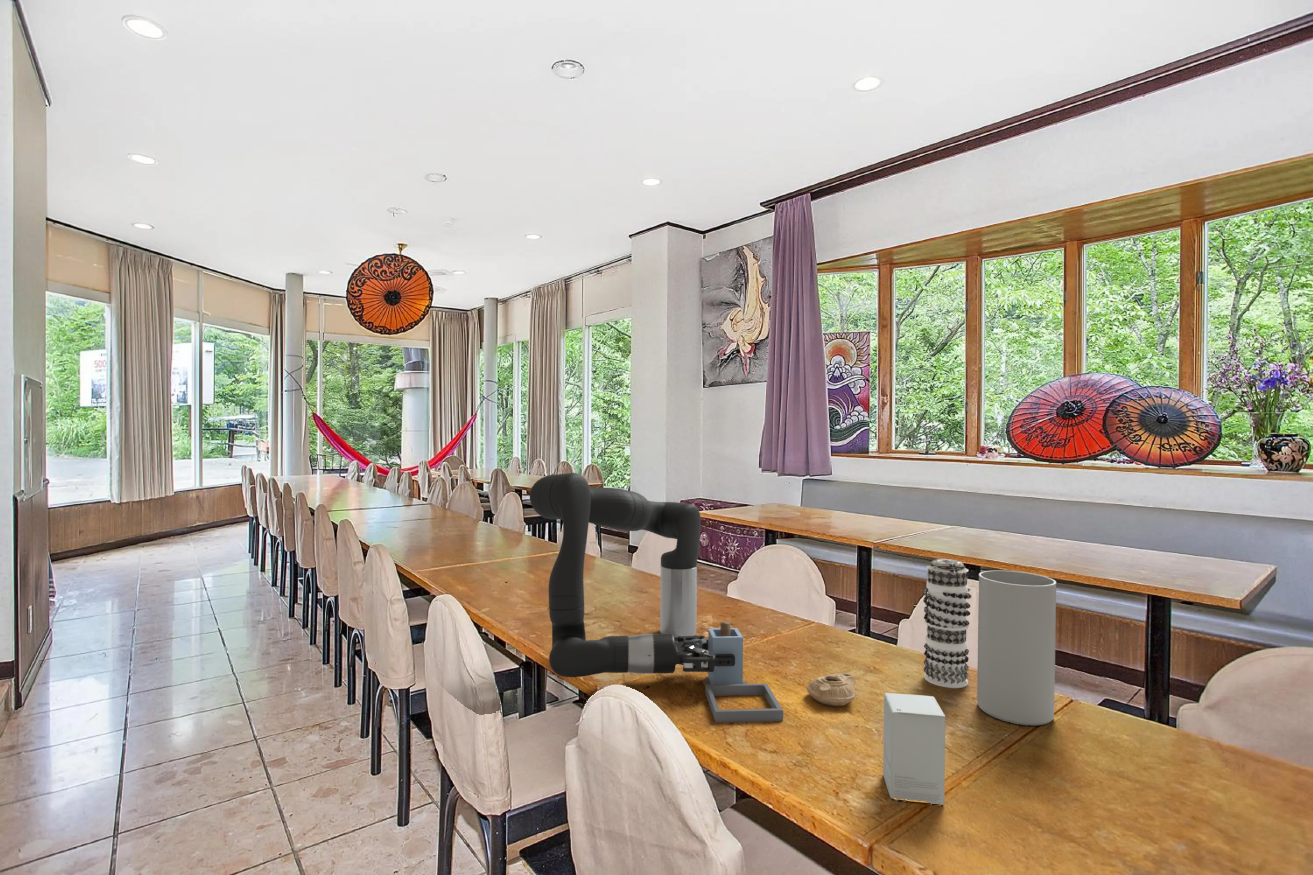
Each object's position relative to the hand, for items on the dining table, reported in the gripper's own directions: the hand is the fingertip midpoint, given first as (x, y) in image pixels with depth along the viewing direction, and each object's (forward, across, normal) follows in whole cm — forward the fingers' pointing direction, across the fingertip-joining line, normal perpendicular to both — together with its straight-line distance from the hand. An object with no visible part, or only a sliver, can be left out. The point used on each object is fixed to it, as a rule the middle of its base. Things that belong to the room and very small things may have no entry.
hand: (730, 652), depth 131 cm
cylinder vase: (+51, -14, +7) cm, 53 cm away
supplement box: (+20, -38, +7) cm, 44 cm away
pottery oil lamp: (+19, -8, +7) cm, 22 cm away
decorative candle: (+46, +1, +7) cm, 46 cm away
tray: (0, -12, +7) cm, 14 cm away
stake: (-1, 0, +7) cm, 7 cm away
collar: (-1, 0, +6) cm, 6 cm away
